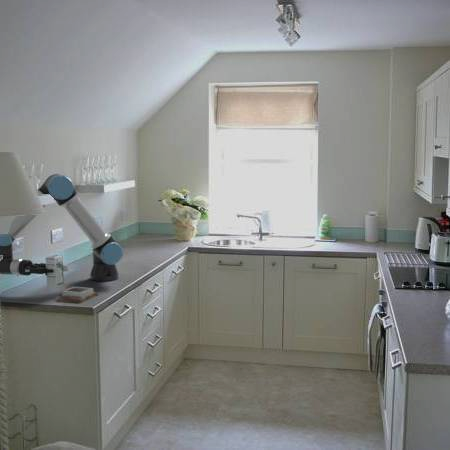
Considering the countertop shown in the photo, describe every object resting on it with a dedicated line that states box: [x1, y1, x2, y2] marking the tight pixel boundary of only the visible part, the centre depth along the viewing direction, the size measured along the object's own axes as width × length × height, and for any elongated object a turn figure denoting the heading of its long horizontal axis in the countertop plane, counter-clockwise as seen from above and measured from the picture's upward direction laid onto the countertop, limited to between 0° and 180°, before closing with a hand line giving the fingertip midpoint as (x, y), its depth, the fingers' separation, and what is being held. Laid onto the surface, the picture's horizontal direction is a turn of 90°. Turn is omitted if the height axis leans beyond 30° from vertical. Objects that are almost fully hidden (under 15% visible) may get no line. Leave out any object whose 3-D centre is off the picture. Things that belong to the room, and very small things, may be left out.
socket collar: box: [61, 286, 94, 298], centre depth 300 cm, size 10×10×2 cm
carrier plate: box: [56, 291, 98, 304], centre depth 300 cm, size 16×12×2 cm
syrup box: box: [45, 254, 65, 288], centre depth 303 cm, size 6×6×14 cm
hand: (64, 269), depth 301 cm, fingers closed on syrup box, 6 cm apart
